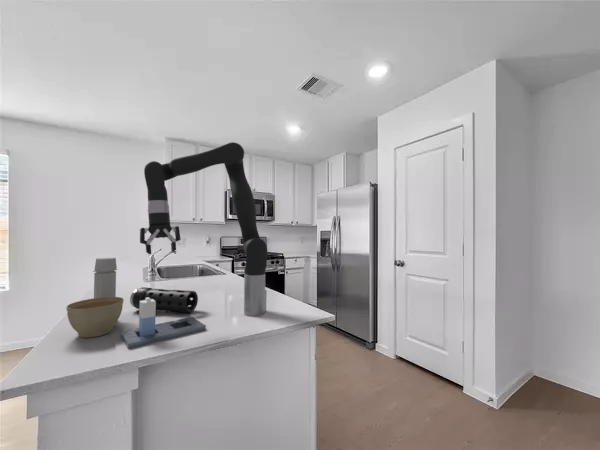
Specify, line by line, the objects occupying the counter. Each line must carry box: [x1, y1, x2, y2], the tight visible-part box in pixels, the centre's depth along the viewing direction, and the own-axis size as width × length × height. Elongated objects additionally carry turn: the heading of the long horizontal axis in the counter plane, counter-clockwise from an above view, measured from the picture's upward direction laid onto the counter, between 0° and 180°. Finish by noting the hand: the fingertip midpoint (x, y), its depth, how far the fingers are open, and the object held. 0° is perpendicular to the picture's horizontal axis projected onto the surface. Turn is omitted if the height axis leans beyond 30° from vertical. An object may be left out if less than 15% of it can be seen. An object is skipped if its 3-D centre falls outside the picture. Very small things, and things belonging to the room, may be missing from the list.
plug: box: [138, 297, 157, 337], centre depth 91 cm, size 4×4×13 cm
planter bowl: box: [65, 296, 125, 339], centre depth 95 cm, size 16×16×11 cm
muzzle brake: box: [129, 287, 199, 314], centre depth 120 cm, size 10×28×10 cm, turn 78°
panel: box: [120, 316, 207, 350], centre depth 94 cm, size 24×13×2 cm, turn 132°
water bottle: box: [92, 257, 118, 298], centre depth 108 cm, size 9×8×25 cm
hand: (161, 253), depth 107 cm, fingers open, 8 cm apart
